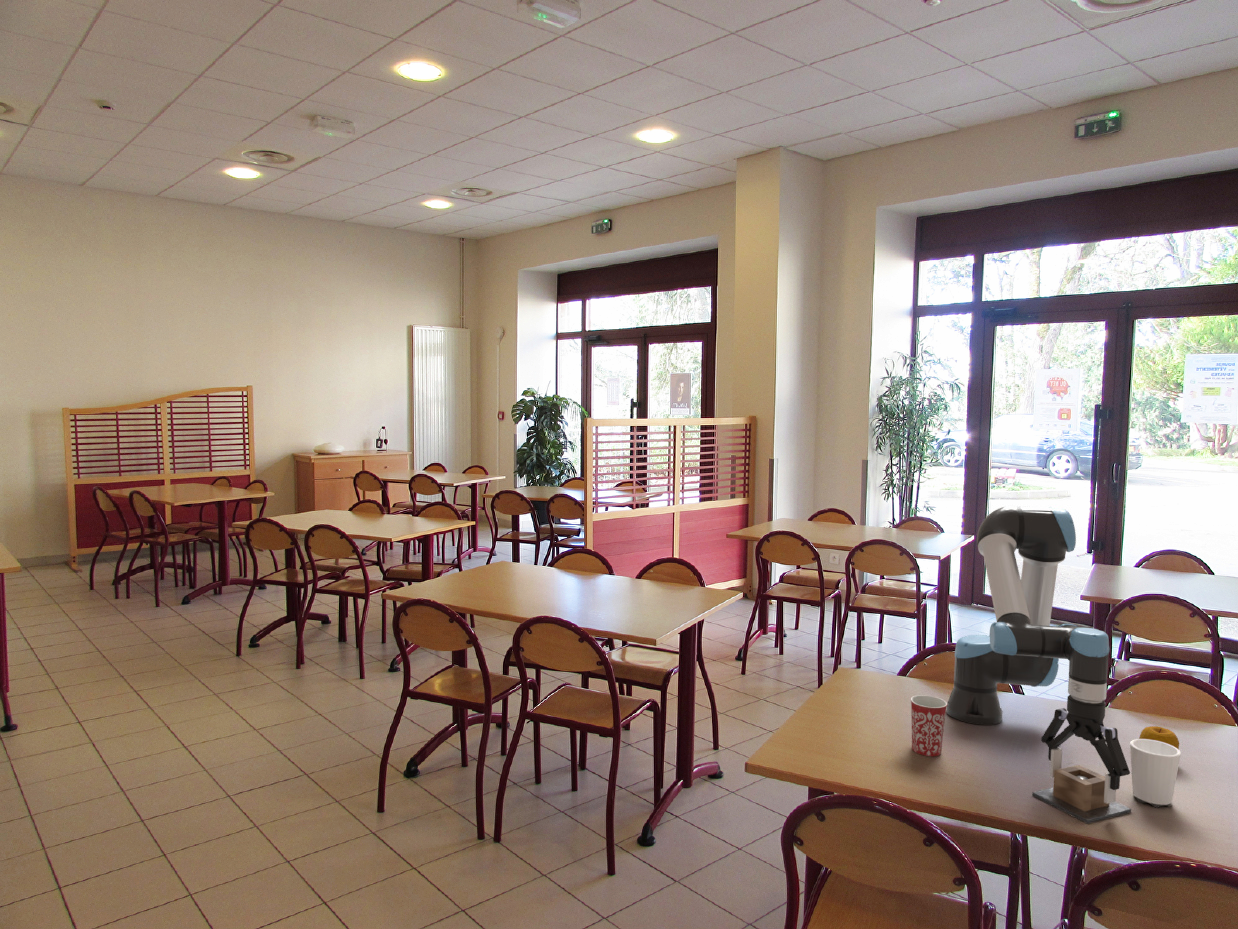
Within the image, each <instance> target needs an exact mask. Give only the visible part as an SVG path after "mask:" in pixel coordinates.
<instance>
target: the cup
mask: <svg viewBox="0 0 1238 929" xmlns="http://www.w3.org/2000/svg"><path fill="white" fill-rule="evenodd" d="M1129 751H1130V752H1129V753H1130V767H1131V769H1130V770H1131V771H1130V772H1131V786H1132V788H1131V789H1132V794H1133V796H1134V798H1135V799H1136V800H1137V802H1139V803H1143V804H1144V803H1148V804H1150V805H1151V806H1152V807H1154V808H1160V807H1162V806H1165V807H1171V805H1172V803H1173V798H1174V794H1175V787H1176V782H1177V777H1178V770H1179V765H1180V760H1181V755H1182V752H1181V750H1180V749H1179V750H1178V749H1177V748H1176V747H1174V746H1172V745H1169V744H1167V743H1164V742H1160V741H1156V740H1150V739H1139V738H1135V739H1133V740H1130V742H1129Z"/></svg>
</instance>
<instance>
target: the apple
mask: <svg viewBox="0 0 1238 929" xmlns="http://www.w3.org/2000/svg"><path fill="white" fill-rule="evenodd" d="M1138 739H1150V740H1156V741H1160V742H1164V743H1167V744H1169V745H1172V746H1174V747H1176V748H1177V749H1178V750H1180V748H1179V747H1180V740H1179V738H1178V736H1177V735H1176V734H1175V732H1173V731H1172V730H1170V729H1168V728H1165V727H1161V726H1156V725H1153V726H1146V727H1144V728H1143V729H1142V730H1141V731H1140V734H1139V737H1138Z"/></svg>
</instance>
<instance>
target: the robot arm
mask: <svg viewBox="0 0 1238 929" xmlns="http://www.w3.org/2000/svg"><path fill="white" fill-rule="evenodd" d="M1076 536H1077V535H1076V528H1075V524H1074V520H1073V517H1072V515H1071V513H1070V512H1069V511H1068V510H1066V509H1064V508H1055V507H1051V506H1050V507H1037V506H1036V507H1035V506H1034V507H1033V506H1032V507H1031V506H1013V505H1010V506H1009V505H1008V506H1003V507H999V508H997V509H995V510H993V511H991V513H989V514H988V515H987V516H986V517H985V518H984V519H983V521H982V522H981V524H980V526H979V528H978V531H977V534H976V544H977V549H978V552H979V554H980V555H981V556H983V560H984V565H985V569H986V570H985V571H986V574H987V575H986V576H987V581H988V585H989V590H990V595H991V600H992V605H993V610H994V615H995V619H996V621H994V622H992V623H991V625H990V626H989V635H988V634H970V635H965V636H962V637H960V638H958V639H957V641H956V644H955V650H954V653H953V654H954V671H953V673H954V675H953V688H952V690H951V693H950V695H949V699H948V701H946V702H947V707H946V714H947V715H948V716H949V717H951V718H953V719H956V720H958V721H961V722H965V723H969V724H973V725H983V726H985V725H989V726H991V725H996V724H999V723H1001V722H1002V721H1003V710H1002V707H1001V705H1000V701H999V696H998V684H1005V685H1016V686H1017V685H1020V686H1029V687H1034V688H1037V687H1049V686H1050V685H1052V684H1053V683H1054V682H1055V680H1056V678H1057V676H1058V671H1059V666H1060V665H1059V661H1060V659H1061V660H1062V659H1063V660H1068V685H1067V693H1068V694H1069V695H1068V696H1067V699H1066V700H1067V701H1066V708H1065V707H1063V708H1058V709H1055V710H1054V713H1053V714H1054V716H1053V718H1052V720H1051V721H1050V723H1049V725H1048V726H1047V729H1046V730H1045V731H1044V733H1043V735H1042V736H1041V737H1040V740H1041V742H1042V743H1044V744H1046V746H1047V747H1048V755H1047V756H1048V758H1047V759H1048V761H1050V766H1049V767H1050V769H1049V777H1050V778H1053V779H1054V770H1058V769H1062V762H1063V761H1062V758H1063V749H1062V748H1061V745H1063V744H1064V743H1065V742H1066V741H1067V740H1069V739H1070V738H1071V737H1072V736H1073V735H1074V736H1075V737H1077V738H1081V739H1083V740H1084V741H1086V742H1087V741H1089V742H1090V744H1091V746H1093V747H1094V748H1095V750H1096V752H1097V754H1098V756H1099V758H1100V760H1101V761H1102V763H1103V765H1104V766H1105V768H1106V770H1107V773H1105V774H1104V775H1105V790H1104V803H1107V804H1108V803H1112V802H1115V801H1116V798H1117V797H1116V796H1117V790H1119V789H1120V786H1121V784H1120V783H1121V777H1124V776H1129V775H1130V773H1131V771H1130V769H1129V768H1130V767H1129V766H1128V763H1127V760H1126V756H1125V754H1124V752H1123V749H1122V746H1121V744H1120V740H1119V735H1118V729H1117V728H1116V727H1107V726H1105V724H1104V719H1105V716H1106V704H1107V703H1106V702H1105V700H1106V699H1107V687H1108V686H1107V685H1108V684H1107V682H1108V667H1109V666H1108V665H1109V664H1108V663H1109V653H1110V650H1111V649H1110V641H1109V635H1108V634H1107V633H1106V632H1105V631H1103V630H1099V629H1098V628H1091V627H1081V626H1078V625H1076V624H1073V623H1062V624H1059V625H1057V626H1056V625H1055V626H1054V625H1051V619H1052V618H1051V617H1052V612H1053V611H1052V610H1053V605H1054V604H1053V603H1054V596H1055V588H1056V581H1057V580H1056V579H1057V573H1058V566H1059V564H1060V563H1062V562H1063V561H1065V559H1066V553H1071V552H1073V551H1074V550H1075V548H1076V543H1077V539H1076V538H1077V537H1076ZM1016 550H1017V552H1018V554H1019V556H1020V558H1022V559H1023V561H1022V568H1021V576H1020V571H1019V567H1018V566H1019V565H1018V564H1017V563H1018V562H1017V558H1016V553H1015V552H1016ZM1065 721H1067V723H1068V725H1067V726H1066V727H1065V728H1064V729H1063V730H1062V731H1061V732H1060V733H1059V731H1060V729H1061V728H1062V726H1063V725H1064V723H1065ZM1058 733H1059V734H1058Z"/></svg>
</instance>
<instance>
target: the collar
mask: <svg viewBox="0 0 1238 929" xmlns="http://www.w3.org/2000/svg"><path fill="white" fill-rule="evenodd" d="M1076 776H1083V777H1086V778H1088V779H1087V780H1083V779H1081V778H1079V777H1076ZM1104 790H1105V776H1104V775H1102V774H1099V773H1098V772H1096V771H1094V770H1091V769H1089V768H1087V767H1084V766H1083V765H1080V764H1077V765H1076V764H1075V765H1072V766H1067V767H1063V768H1062V767H1061V769H1058V770H1054V777H1053V796H1055V797H1057V798H1059V799H1061V800H1063V801H1065V802H1067V803H1069V804H1071V805H1073V806H1075V807H1077V808H1079V809H1081V810H1083V811H1088V810H1092V809H1096V808H1100V807H1104V806H1107V805H1109V803H1108V804H1107V803H1104Z"/></svg>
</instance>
